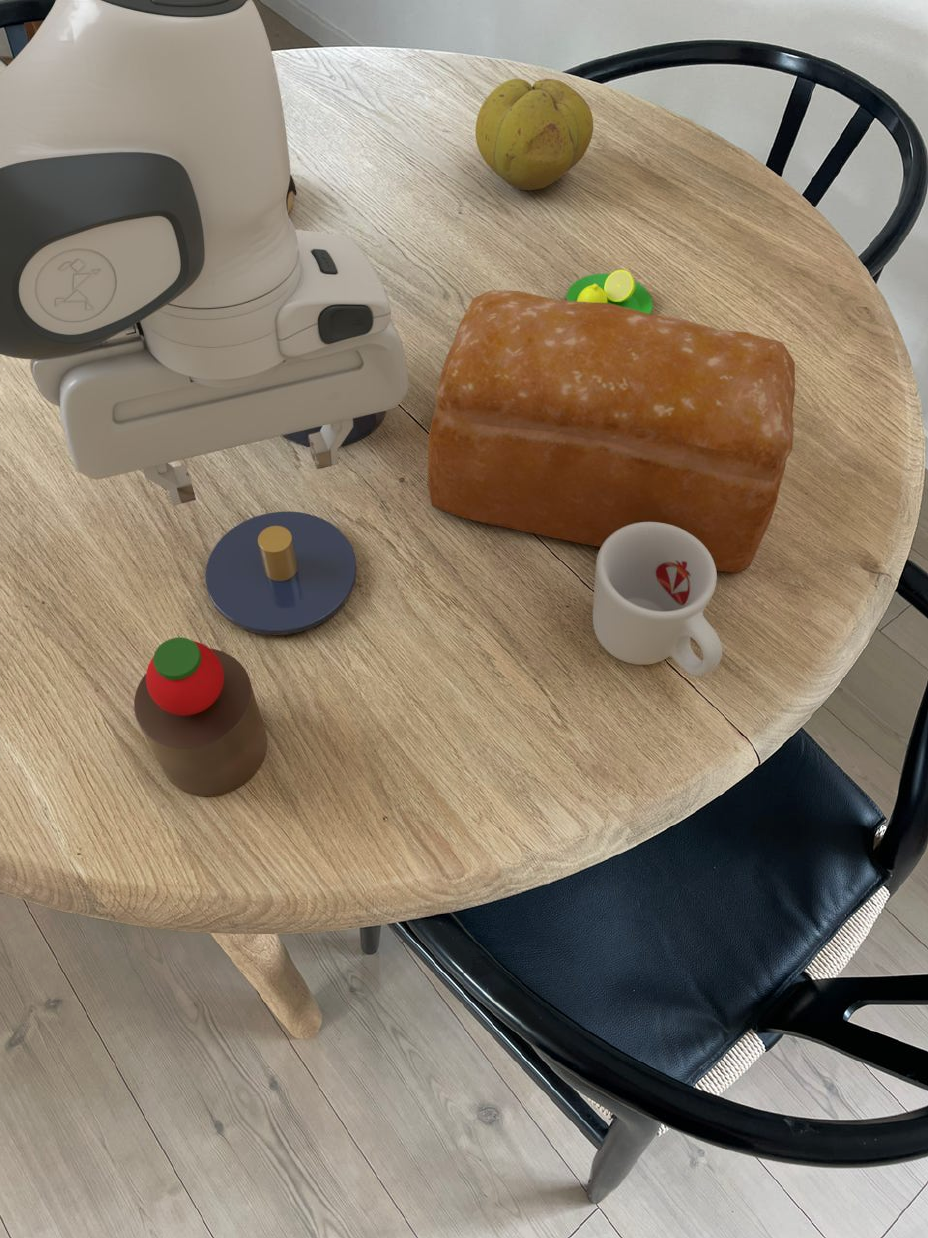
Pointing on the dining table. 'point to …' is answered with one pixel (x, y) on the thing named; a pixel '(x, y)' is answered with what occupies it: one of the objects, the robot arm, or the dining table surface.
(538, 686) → the dining table surface
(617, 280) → the green dish with lemons
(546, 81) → the fruit
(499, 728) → the dining table surface
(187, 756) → the stand
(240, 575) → the pot lid
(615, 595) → the cup
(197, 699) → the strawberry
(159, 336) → the robot arm
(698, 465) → the bread
